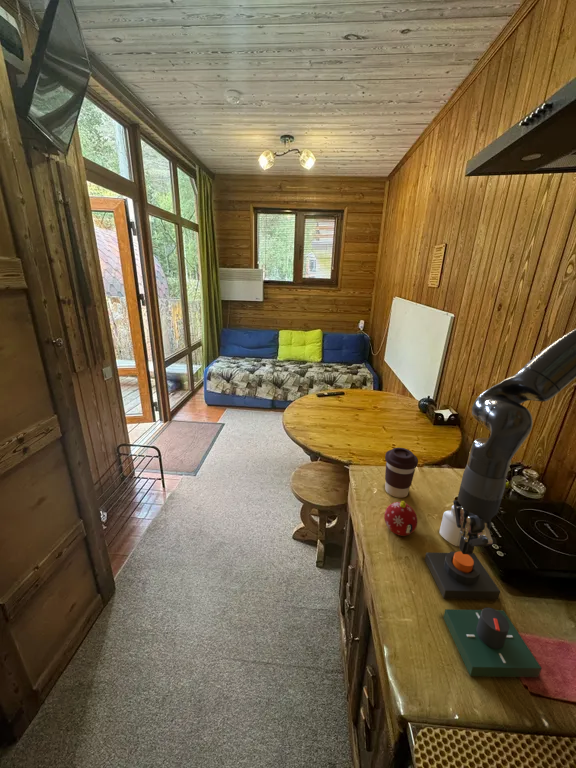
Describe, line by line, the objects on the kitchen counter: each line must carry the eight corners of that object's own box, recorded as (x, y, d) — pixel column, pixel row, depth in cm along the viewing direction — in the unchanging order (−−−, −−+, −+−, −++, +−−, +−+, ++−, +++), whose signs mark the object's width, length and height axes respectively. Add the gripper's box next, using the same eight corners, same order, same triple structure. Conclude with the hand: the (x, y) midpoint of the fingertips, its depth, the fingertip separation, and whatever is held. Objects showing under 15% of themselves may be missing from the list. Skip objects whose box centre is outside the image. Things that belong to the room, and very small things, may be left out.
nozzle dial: (474, 620, 61) (479, 602, 59) (500, 629, 59) (506, 611, 58) (478, 643, 57) (484, 625, 55) (506, 653, 55) (512, 635, 54)
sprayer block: (471, 562, 77) (475, 546, 75) (497, 601, 68) (502, 584, 66) (424, 561, 77) (427, 545, 75) (443, 600, 67) (447, 583, 66)
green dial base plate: (500, 620, 64) (503, 609, 63) (537, 679, 54) (542, 667, 53) (442, 619, 64) (445, 608, 63) (469, 678, 54) (473, 666, 53)
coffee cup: (375, 491, 103) (380, 452, 98) (389, 479, 109) (395, 441, 105) (403, 506, 96) (410, 465, 91) (417, 492, 103) (424, 453, 98)
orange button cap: (466, 558, 73) (467, 551, 72) (475, 573, 69) (477, 566, 68) (449, 557, 73) (450, 551, 72) (458, 573, 69) (459, 566, 68)
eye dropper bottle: (447, 548, 81) (455, 510, 77) (437, 531, 86) (444, 496, 83) (463, 548, 81) (472, 511, 77) (452, 532, 86) (460, 496, 83)
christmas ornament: (405, 518, 91) (410, 490, 88) (421, 541, 83) (426, 511, 80) (378, 520, 90) (381, 492, 87) (390, 544, 82) (395, 513, 79)
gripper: (522, 509, 58) (500, 578, 63) (480, 469, 70) (465, 529, 76) (482, 509, 58) (464, 577, 63) (448, 468, 70) (435, 528, 76)
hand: (465, 551), depth 70 cm, fingers closed
